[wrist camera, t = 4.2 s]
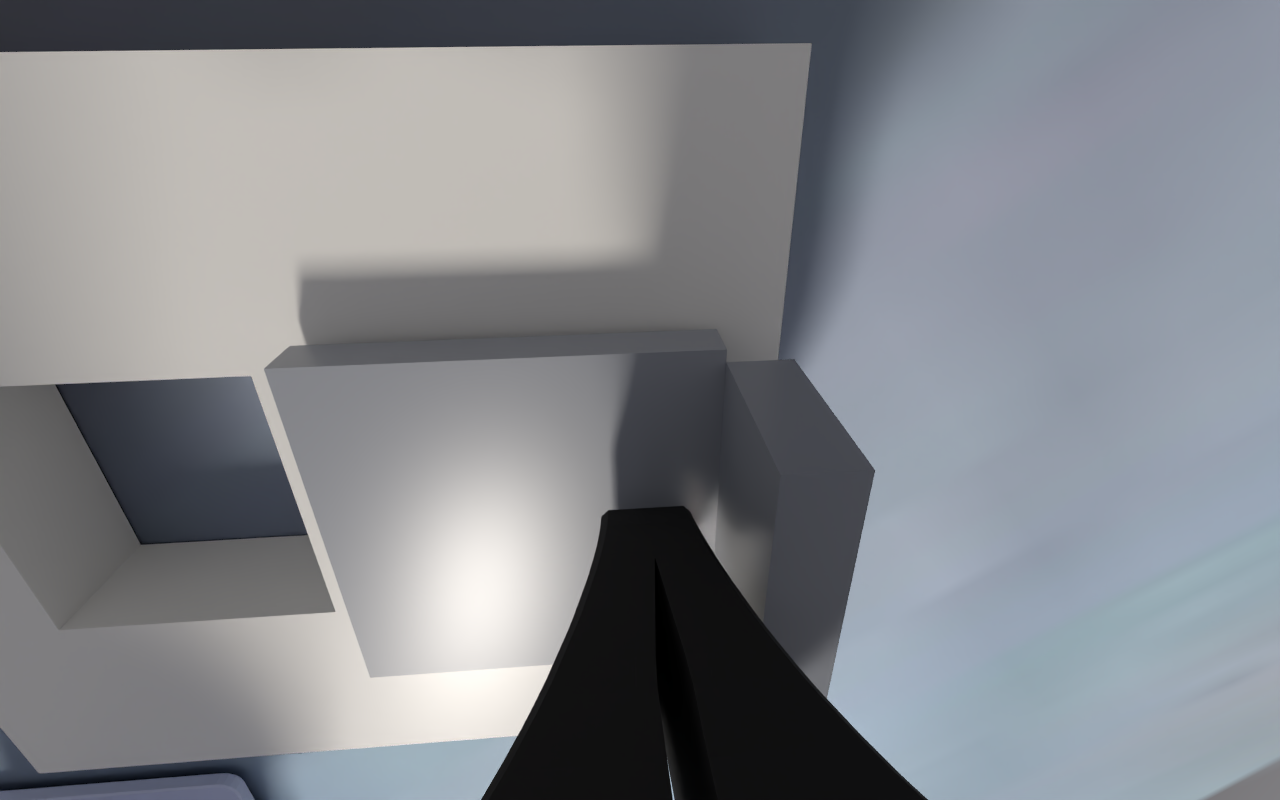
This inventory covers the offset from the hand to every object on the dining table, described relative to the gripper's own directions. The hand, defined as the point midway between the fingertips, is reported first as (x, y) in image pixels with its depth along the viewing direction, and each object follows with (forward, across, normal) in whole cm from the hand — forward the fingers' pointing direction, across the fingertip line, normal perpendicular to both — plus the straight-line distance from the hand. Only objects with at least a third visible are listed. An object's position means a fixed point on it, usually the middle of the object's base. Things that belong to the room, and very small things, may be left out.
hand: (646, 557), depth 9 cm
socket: (+4, +6, 0) cm, 7 cm away
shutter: (+1, +2, 0) cm, 2 cm away
